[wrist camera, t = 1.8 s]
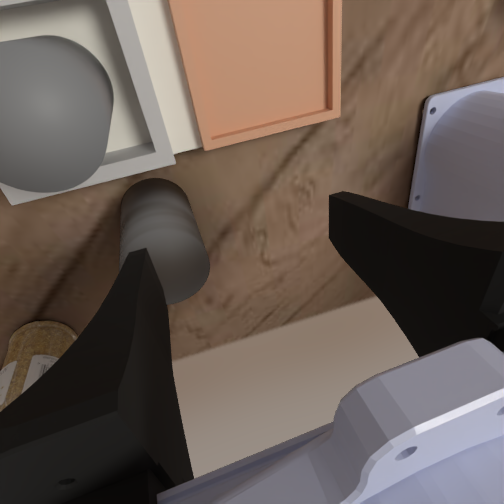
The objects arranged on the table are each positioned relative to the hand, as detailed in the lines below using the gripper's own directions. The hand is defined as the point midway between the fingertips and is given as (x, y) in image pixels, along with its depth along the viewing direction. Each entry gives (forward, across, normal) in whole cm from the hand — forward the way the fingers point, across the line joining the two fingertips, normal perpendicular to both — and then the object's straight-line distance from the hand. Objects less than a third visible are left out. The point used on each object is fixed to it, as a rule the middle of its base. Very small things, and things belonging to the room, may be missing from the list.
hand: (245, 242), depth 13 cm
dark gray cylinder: (+10, +4, +3) cm, 11 cm away
